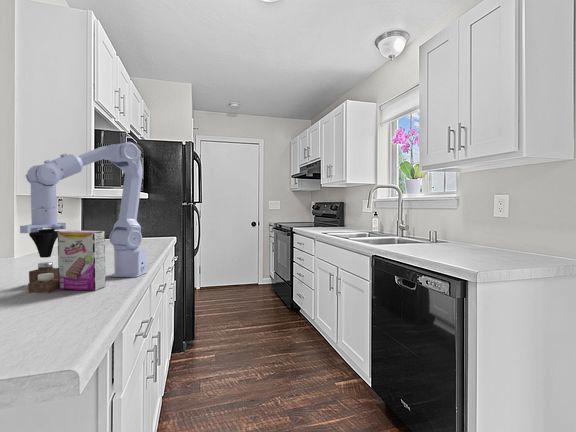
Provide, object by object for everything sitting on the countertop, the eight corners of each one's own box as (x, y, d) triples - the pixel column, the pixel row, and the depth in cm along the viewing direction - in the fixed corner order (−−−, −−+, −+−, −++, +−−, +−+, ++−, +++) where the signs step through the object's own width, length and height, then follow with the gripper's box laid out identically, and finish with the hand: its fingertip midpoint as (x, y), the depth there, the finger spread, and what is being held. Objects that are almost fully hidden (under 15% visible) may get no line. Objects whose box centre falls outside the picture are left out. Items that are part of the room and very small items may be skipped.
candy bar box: (57, 290, 95) (55, 231, 95) (70, 286, 100) (69, 230, 100) (95, 291, 94) (94, 231, 94) (106, 287, 99) (105, 230, 99)
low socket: (62, 287, 98) (62, 279, 98) (48, 292, 93) (48, 283, 93) (43, 287, 98) (43, 278, 98) (28, 292, 93) (28, 283, 93)
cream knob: (56, 287, 97) (56, 273, 97) (47, 291, 94) (47, 275, 94) (44, 287, 97) (44, 273, 97) (34, 290, 94) (34, 275, 94)
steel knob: (56, 282, 104) (55, 262, 104) (47, 285, 100) (46, 264, 100) (44, 282, 104) (43, 262, 104) (35, 285, 100) (34, 264, 100)
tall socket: (61, 282, 105) (61, 267, 105) (48, 286, 99) (47, 271, 99) (43, 282, 105) (43, 267, 105) (29, 286, 99) (28, 271, 99)
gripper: (38, 208, 87) (39, 261, 88) (75, 207, 102) (76, 253, 102) (11, 208, 88) (13, 261, 88) (52, 207, 102) (53, 253, 103)
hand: (45, 257), depth 95 cm, fingers closed
